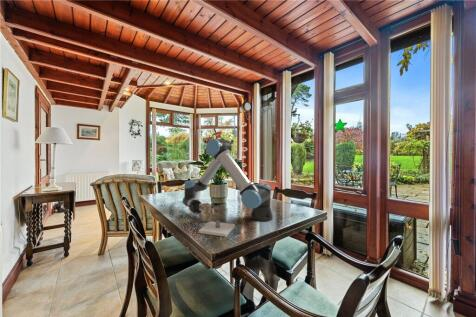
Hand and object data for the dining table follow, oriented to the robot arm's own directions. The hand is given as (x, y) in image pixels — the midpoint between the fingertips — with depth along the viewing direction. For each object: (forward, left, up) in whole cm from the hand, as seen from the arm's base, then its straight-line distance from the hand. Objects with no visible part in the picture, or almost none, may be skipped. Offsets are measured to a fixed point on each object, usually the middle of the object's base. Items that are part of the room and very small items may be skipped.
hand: (208, 212), depth 133 cm
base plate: (-9, +8, -7) cm, 14 cm away
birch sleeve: (+4, -3, -6) cm, 8 cm away
